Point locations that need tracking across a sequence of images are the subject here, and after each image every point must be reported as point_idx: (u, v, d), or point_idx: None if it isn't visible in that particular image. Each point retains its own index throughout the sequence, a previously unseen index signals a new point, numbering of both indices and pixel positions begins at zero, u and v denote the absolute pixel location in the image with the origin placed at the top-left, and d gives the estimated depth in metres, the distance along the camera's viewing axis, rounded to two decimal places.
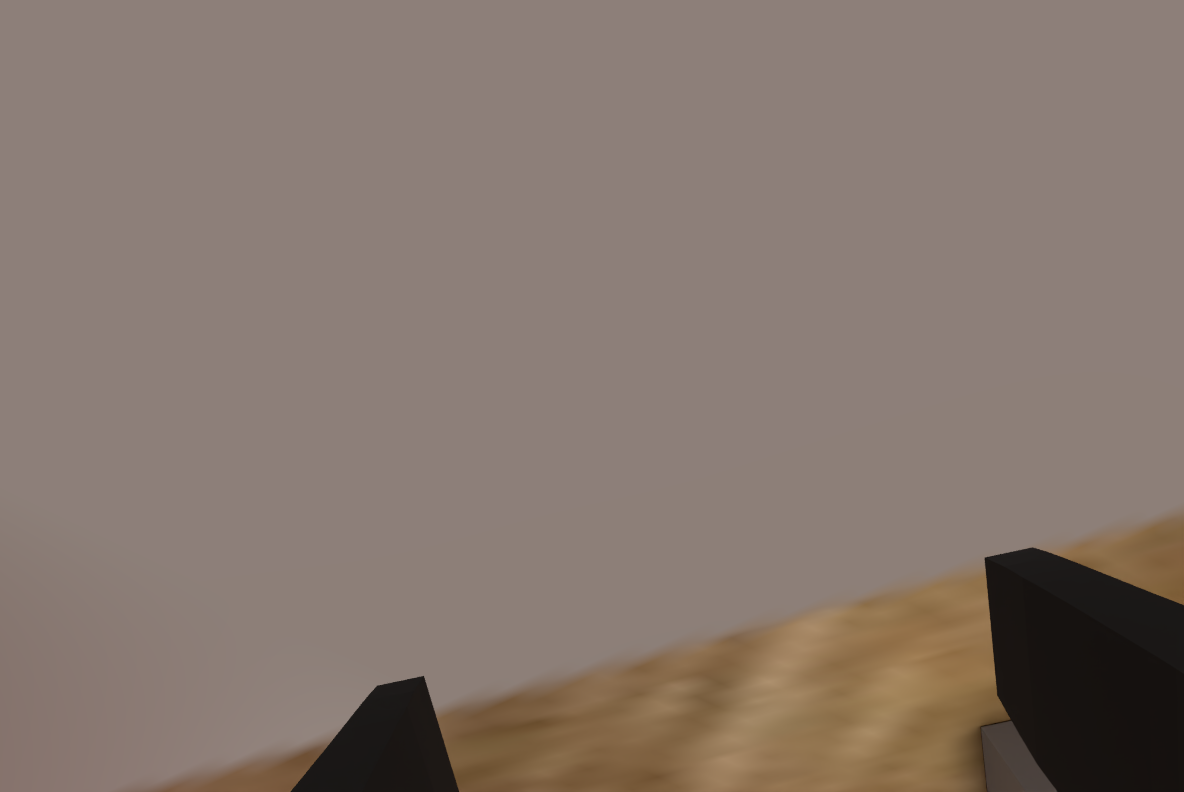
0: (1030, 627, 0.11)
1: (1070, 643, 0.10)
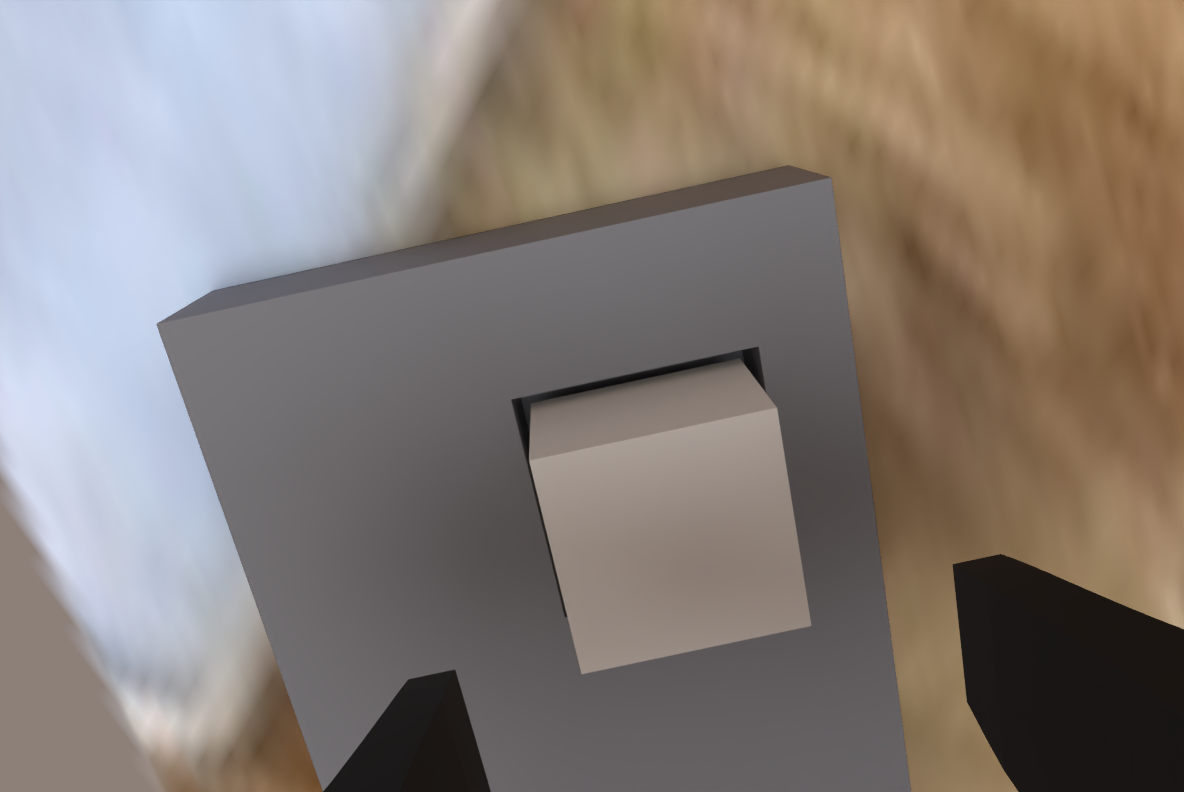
0: (995, 634, 0.11)
1: (1032, 651, 0.10)
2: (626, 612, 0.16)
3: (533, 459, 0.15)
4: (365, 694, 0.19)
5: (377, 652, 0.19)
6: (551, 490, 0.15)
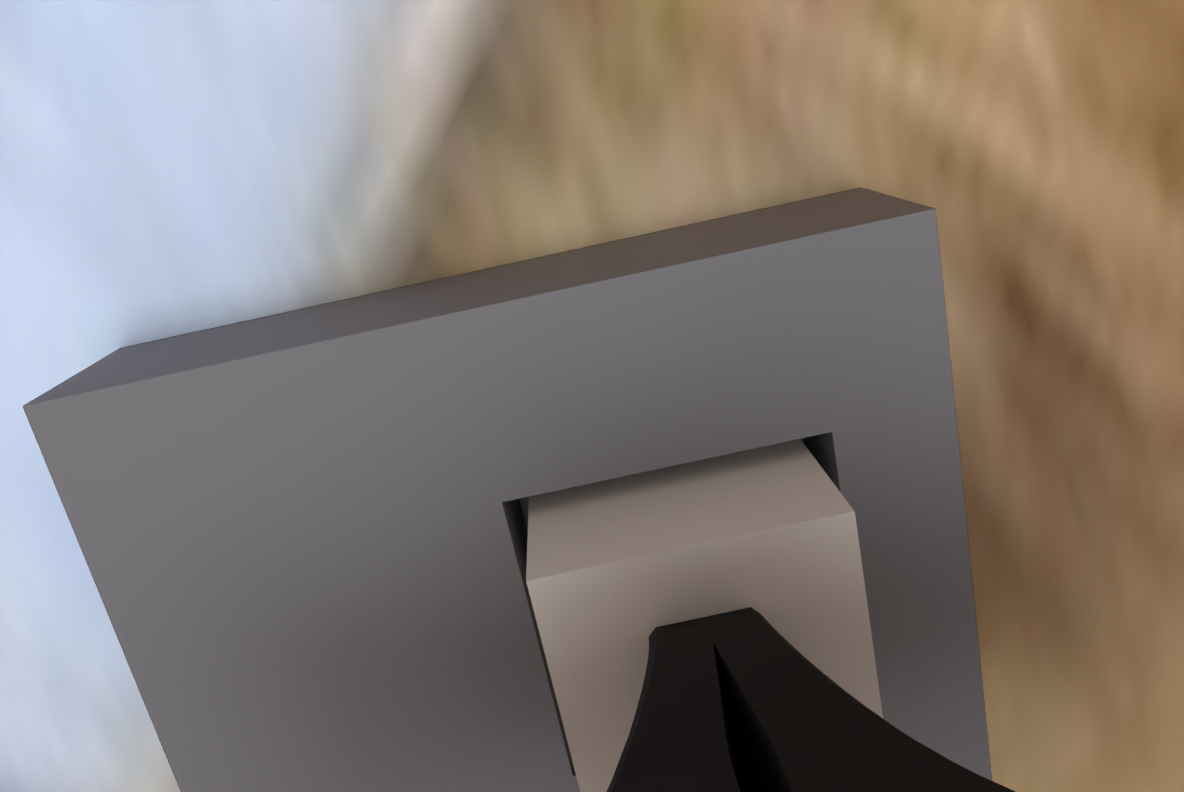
0: (724, 691, 0.11)
1: (739, 712, 0.10)
2: None
3: (531, 579, 0.12)
4: None
5: None
6: (555, 617, 0.12)
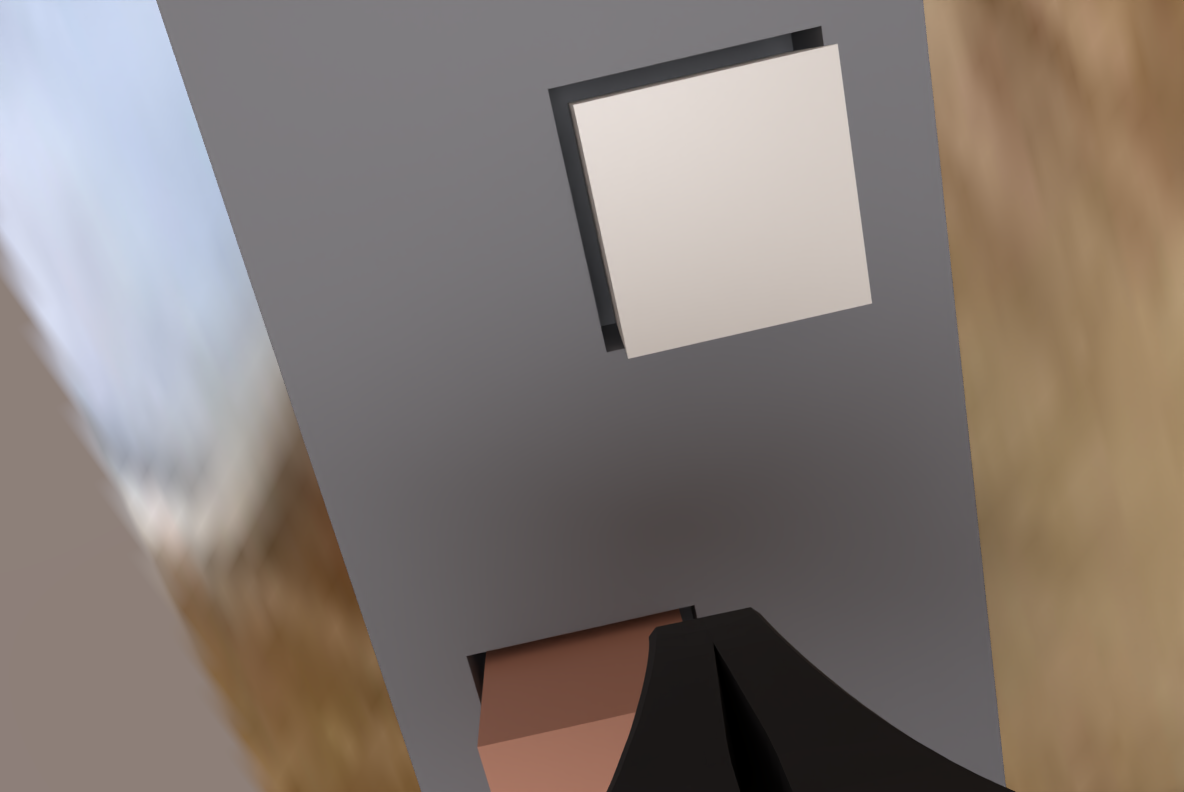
0: (724, 691, 0.11)
1: (739, 712, 0.10)
2: (676, 286, 0.15)
3: (577, 104, 0.14)
4: (388, 443, 0.18)
5: (402, 396, 0.17)
6: (597, 140, 0.14)
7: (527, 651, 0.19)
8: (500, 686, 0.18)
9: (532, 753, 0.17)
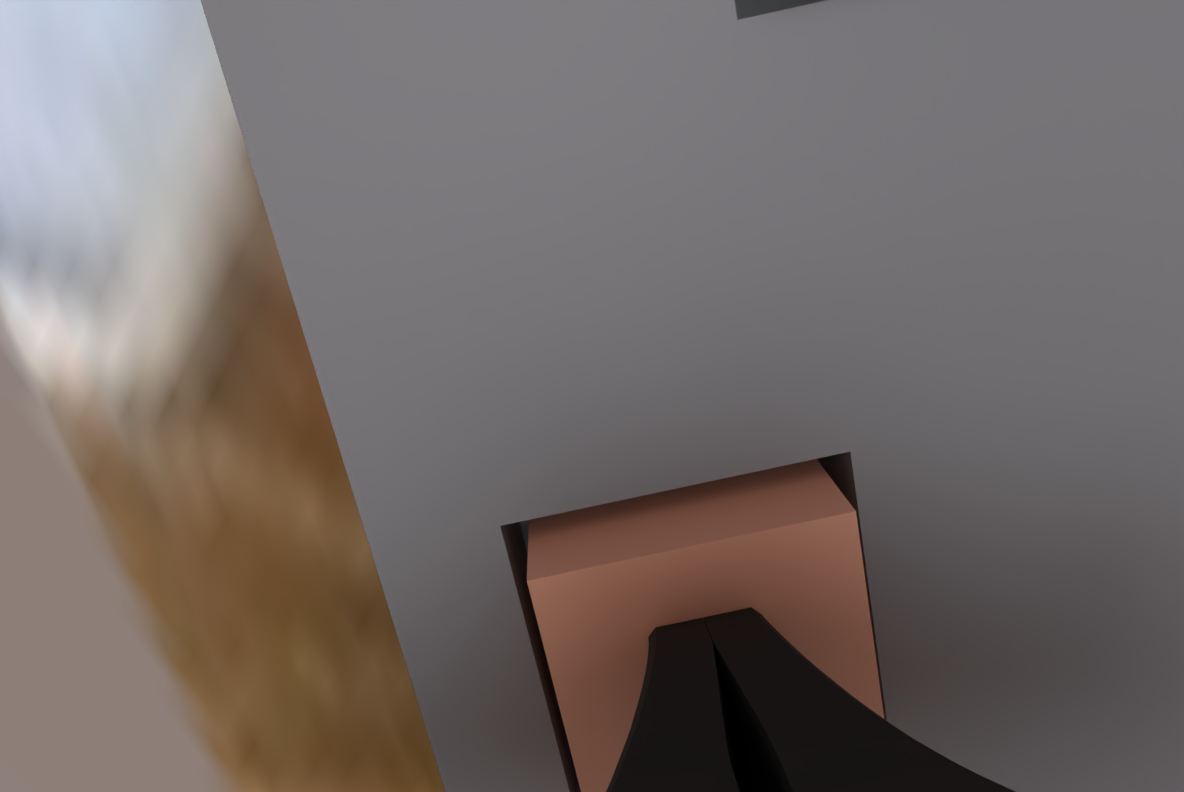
0: (724, 691, 0.11)
1: (739, 712, 0.10)
2: None
3: None
4: (385, 169, 0.11)
5: (408, 92, 0.11)
6: None
7: None
8: (553, 516, 0.13)
9: (606, 592, 0.12)
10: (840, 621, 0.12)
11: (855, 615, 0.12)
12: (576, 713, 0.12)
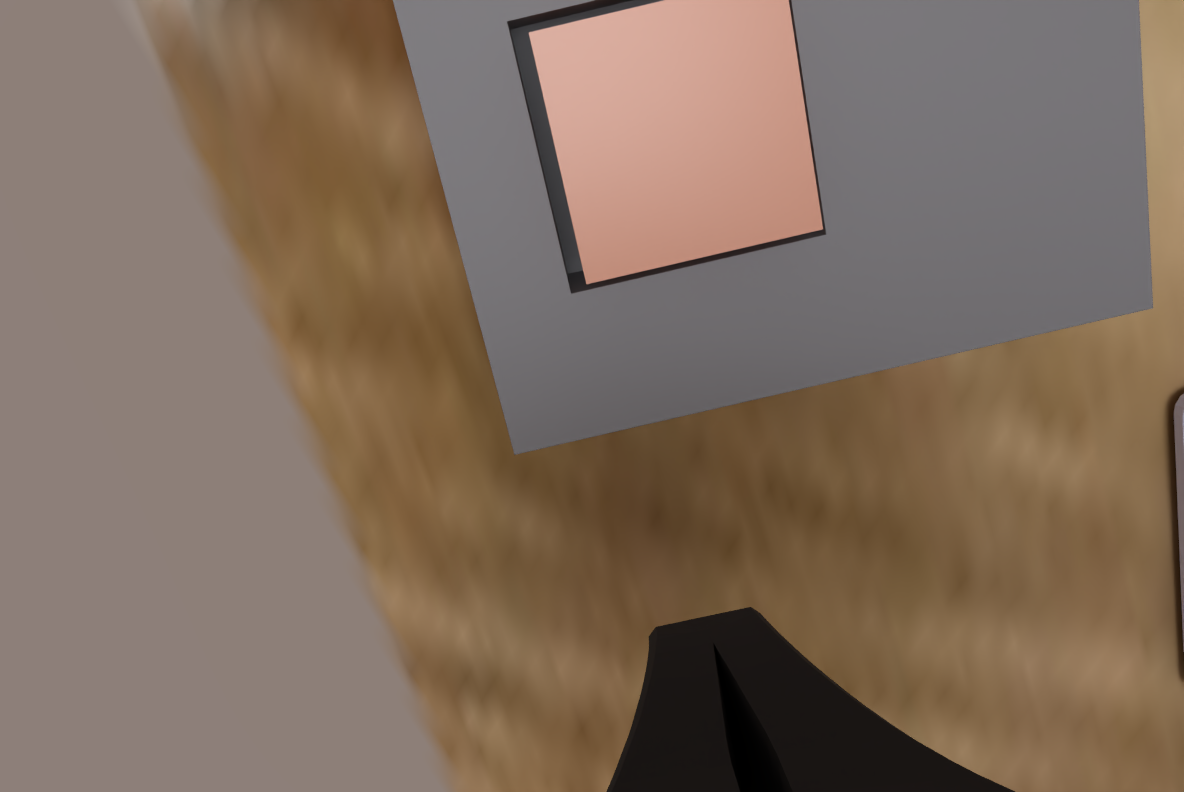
0: (724, 691, 0.11)
1: (739, 712, 0.10)
2: None
3: None
4: None
5: None
6: None
7: None
8: None
9: (590, 43, 0.15)
10: (775, 74, 0.15)
11: (787, 68, 0.15)
12: (569, 157, 0.15)
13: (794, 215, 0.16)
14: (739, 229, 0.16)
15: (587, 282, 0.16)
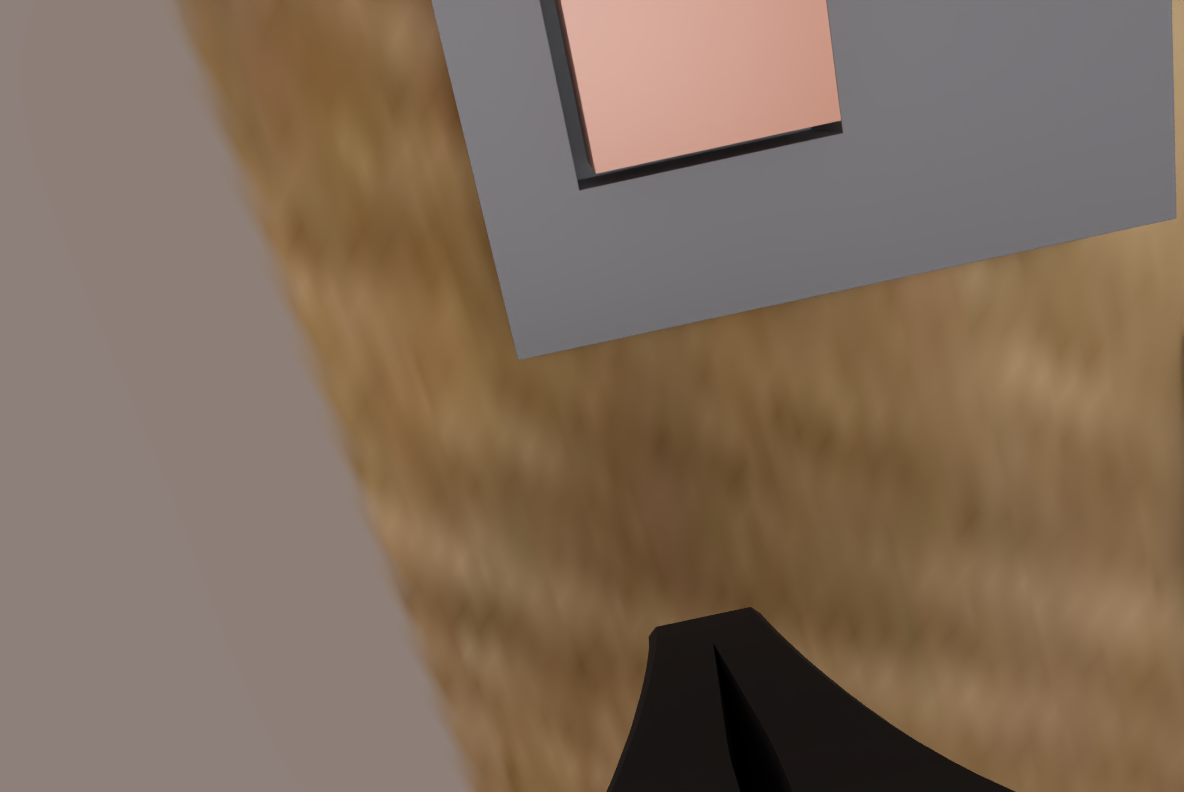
0: (724, 691, 0.11)
1: (739, 712, 0.10)
2: None
3: None
4: None
5: None
6: None
7: None
8: None
9: None
10: None
11: None
12: (580, 37, 0.15)
13: (811, 105, 0.15)
14: (755, 118, 0.15)
15: (597, 171, 0.15)
